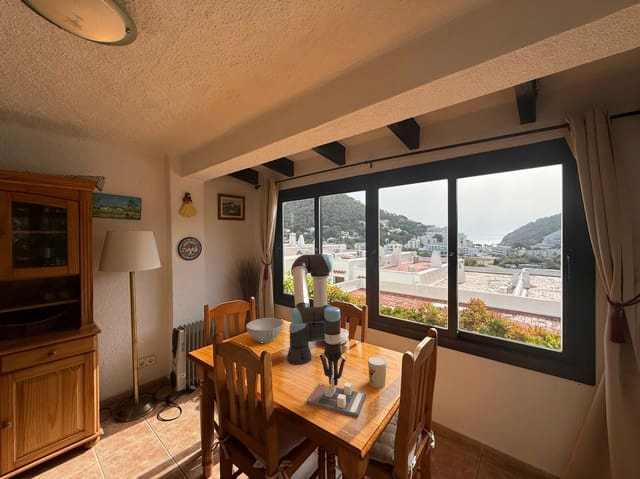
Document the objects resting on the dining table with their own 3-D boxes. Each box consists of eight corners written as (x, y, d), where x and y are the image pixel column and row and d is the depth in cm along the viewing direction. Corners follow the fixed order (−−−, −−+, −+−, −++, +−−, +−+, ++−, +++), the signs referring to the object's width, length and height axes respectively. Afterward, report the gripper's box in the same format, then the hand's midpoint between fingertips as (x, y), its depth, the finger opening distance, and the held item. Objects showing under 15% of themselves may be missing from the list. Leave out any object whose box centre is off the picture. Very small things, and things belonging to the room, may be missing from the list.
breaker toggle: (324, 396, 122) (324, 387, 121) (327, 392, 124) (327, 383, 124) (330, 397, 120) (330, 388, 120) (333, 393, 123) (332, 384, 123)
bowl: (353, 340, 188) (352, 330, 188) (341, 350, 173) (341, 339, 173) (331, 335, 198) (331, 326, 198) (318, 344, 183) (317, 334, 183)
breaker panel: (306, 404, 119) (306, 392, 119) (319, 386, 132) (319, 375, 132) (358, 417, 109) (357, 404, 109) (366, 396, 123) (365, 385, 123)
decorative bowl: (280, 347, 179) (280, 330, 178) (241, 348, 179) (241, 330, 179) (286, 332, 205) (285, 317, 205) (252, 333, 206) (251, 318, 206)
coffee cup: (366, 379, 138) (365, 357, 137) (383, 378, 139) (383, 355, 138) (371, 390, 128) (370, 365, 128) (389, 388, 129) (389, 364, 129)
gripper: (316, 342, 120) (317, 392, 121) (343, 346, 115) (344, 399, 116) (322, 336, 127) (323, 384, 128) (348, 340, 122) (349, 389, 123)
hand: (333, 391), depth 122 cm, fingers closed
